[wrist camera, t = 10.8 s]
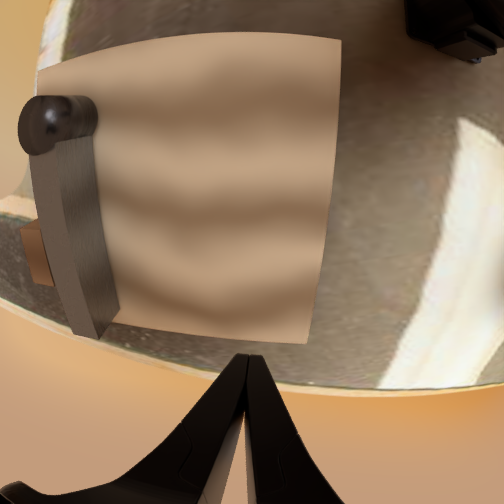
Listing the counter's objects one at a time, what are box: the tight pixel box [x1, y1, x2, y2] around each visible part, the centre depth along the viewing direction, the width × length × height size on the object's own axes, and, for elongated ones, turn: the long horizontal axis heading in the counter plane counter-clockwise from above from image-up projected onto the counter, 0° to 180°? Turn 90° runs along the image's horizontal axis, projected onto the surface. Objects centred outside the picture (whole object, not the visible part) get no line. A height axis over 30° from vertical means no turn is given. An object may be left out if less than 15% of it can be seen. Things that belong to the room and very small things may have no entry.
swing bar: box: [18, 95, 120, 340], centre depth 17 cm, size 17×4×4 cm, turn 0°
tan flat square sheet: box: [37, 32, 341, 344], centre depth 19 cm, size 22×22×1 cm
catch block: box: [20, 219, 56, 287], centre depth 18 cm, size 4×2×4 cm, turn 178°
